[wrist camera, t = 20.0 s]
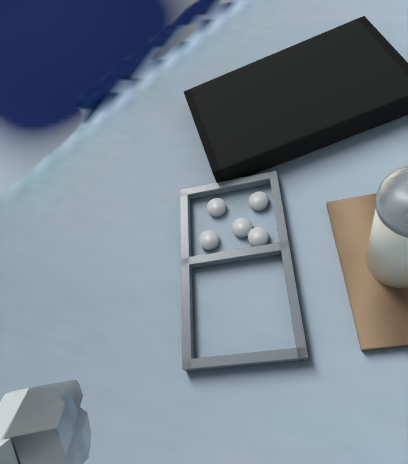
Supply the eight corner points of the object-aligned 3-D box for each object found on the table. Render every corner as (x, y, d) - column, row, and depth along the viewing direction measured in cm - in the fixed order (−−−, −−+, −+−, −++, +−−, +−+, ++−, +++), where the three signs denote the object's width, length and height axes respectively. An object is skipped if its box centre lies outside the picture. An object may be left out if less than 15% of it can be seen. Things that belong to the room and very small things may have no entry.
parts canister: (372, 293, 32) (388, 240, 24) (358, 238, 35) (368, 172, 26) (440, 285, 31) (483, 226, 22) (421, 229, 33) (452, 157, 25)
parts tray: (185, 371, 34) (182, 369, 33) (183, 195, 43) (180, 189, 42) (308, 359, 32) (308, 357, 31) (277, 176, 41) (276, 170, 40)
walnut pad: (361, 350, 31) (361, 349, 30) (326, 205, 38) (326, 202, 37) (487, 338, 29) (489, 336, 28) (425, 188, 36) (427, 184, 35)
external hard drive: (190, 108, 50) (183, 90, 48) (361, 37, 48) (363, 14, 45) (219, 189, 43) (213, 173, 40) (425, 109, 40) (431, 87, 38)
